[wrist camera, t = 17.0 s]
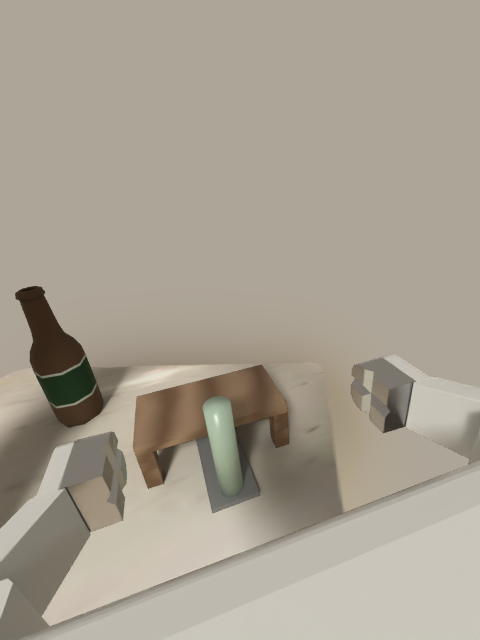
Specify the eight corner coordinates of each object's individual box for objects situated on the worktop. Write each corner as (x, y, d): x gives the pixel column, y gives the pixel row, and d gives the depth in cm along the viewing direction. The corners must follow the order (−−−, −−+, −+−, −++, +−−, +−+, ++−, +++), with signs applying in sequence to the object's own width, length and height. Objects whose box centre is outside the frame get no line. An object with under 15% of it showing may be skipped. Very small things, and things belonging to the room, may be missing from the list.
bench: (148, 488, 38) (132, 447, 35) (148, 433, 47) (136, 396, 44) (288, 443, 42) (286, 403, 39) (265, 400, 51) (261, 364, 48)
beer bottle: (59, 435, 49) (-8, 303, 39) (58, 409, 55) (-1, 289, 45) (108, 414, 52) (57, 288, 42) (101, 392, 58) (56, 277, 48)
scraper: (259, 495, 36) (249, 409, 30) (212, 513, 34) (191, 427, 29) (225, 407, 51) (213, 338, 45) (191, 417, 49) (174, 347, 44)
